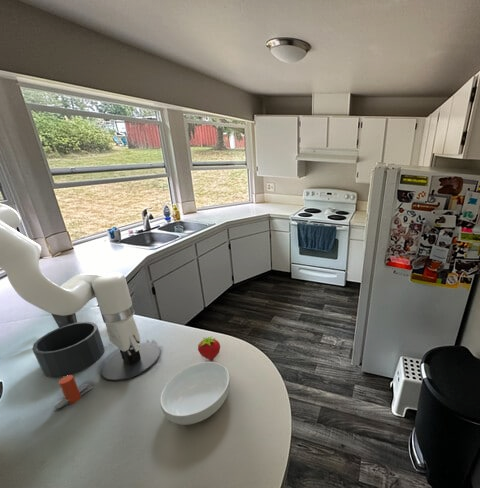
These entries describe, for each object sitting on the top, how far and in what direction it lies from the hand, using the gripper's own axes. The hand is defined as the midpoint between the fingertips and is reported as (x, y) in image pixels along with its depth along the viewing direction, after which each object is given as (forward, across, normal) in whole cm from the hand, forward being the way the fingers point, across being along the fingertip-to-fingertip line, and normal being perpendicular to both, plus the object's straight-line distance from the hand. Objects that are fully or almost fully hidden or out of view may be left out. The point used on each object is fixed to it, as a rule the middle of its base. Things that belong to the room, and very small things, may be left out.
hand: (131, 359), depth 82 cm
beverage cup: (+1, -38, -4) cm, 38 cm away
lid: (+1, 0, 0) cm, 1 cm away
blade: (+1, +1, -15) cm, 15 cm away
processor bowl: (+1, -17, -9) cm, 19 cm away
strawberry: (+2, +21, +14) cm, 25 cm away
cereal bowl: (+2, +32, +2) cm, 32 cm away
